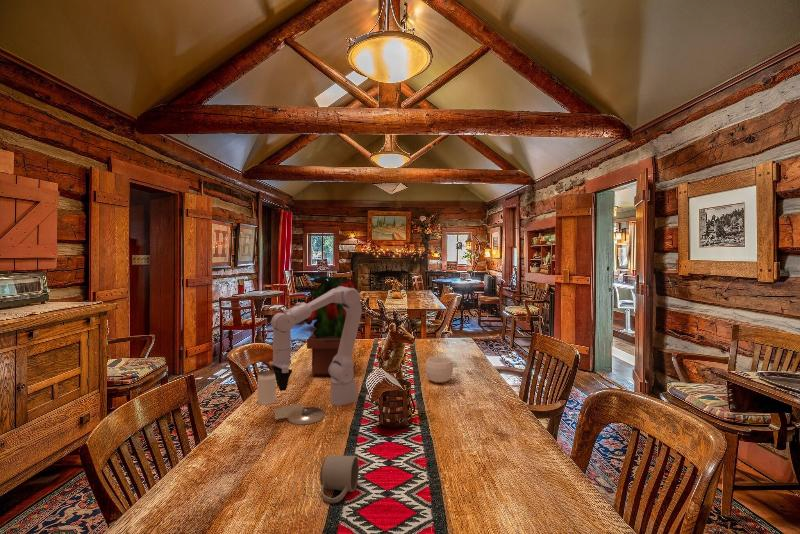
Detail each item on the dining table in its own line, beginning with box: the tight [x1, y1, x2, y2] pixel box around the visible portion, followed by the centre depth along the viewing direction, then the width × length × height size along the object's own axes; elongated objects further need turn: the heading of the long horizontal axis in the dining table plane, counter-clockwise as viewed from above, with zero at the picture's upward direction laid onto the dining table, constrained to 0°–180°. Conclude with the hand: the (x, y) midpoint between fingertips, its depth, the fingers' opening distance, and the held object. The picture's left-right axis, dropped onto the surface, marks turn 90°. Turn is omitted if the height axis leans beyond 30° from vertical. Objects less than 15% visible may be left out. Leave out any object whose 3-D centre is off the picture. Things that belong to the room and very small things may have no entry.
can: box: [257, 370, 277, 406], centre depth 149 cm, size 6×6×12 cm
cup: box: [424, 356, 454, 384], centre depth 179 cm, size 12×12×10 cm
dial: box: [274, 403, 325, 426], centre depth 135 cm, size 16×12×5 cm
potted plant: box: [303, 275, 357, 378], centre depth 189 cm, size 22×22×45 cm
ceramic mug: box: [319, 455, 360, 504], centre depth 97 cm, size 11×8×8 cm
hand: (281, 388), depth 138 cm, fingers open, 4 cm apart
